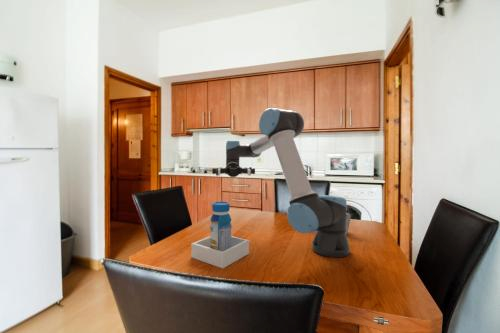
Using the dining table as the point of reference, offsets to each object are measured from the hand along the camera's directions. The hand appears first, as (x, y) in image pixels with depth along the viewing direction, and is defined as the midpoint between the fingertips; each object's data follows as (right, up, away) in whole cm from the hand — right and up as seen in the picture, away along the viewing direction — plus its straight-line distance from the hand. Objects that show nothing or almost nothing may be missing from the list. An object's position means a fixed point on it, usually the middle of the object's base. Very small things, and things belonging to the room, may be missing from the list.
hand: (234, 172), depth 110 cm
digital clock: (+51, -32, +21) cm, 64 cm away
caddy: (-5, -33, -12) cm, 35 cm away
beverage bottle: (-5, -32, -11) cm, 34 cm away
